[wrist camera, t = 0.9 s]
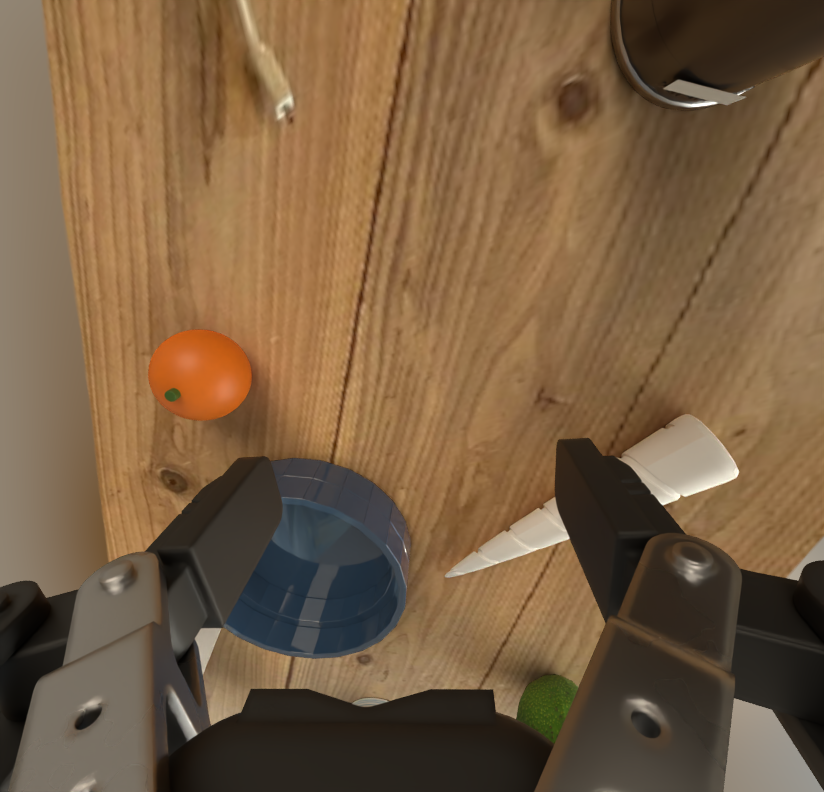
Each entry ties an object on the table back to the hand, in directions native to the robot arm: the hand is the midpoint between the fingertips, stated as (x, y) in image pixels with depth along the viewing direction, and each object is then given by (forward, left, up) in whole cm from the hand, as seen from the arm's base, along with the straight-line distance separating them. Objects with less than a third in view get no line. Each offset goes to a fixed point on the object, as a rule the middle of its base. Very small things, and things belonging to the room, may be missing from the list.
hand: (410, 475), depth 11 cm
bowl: (+20, -9, -17) cm, 28 cm away
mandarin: (+4, -15, -14) cm, 21 cm away
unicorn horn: (+14, +12, -17) cm, 25 cm away
